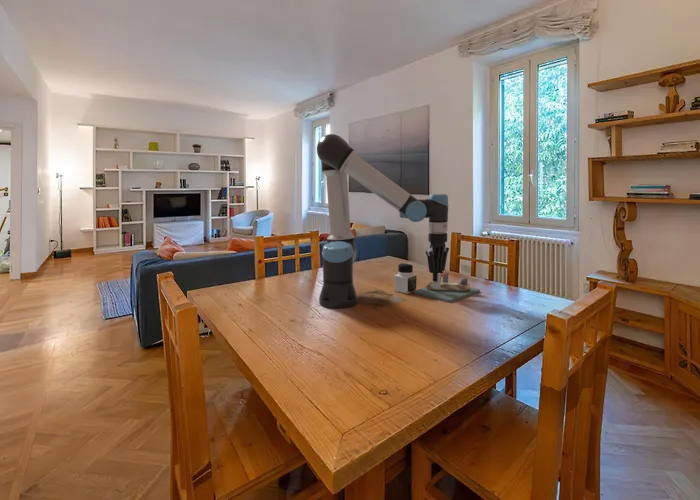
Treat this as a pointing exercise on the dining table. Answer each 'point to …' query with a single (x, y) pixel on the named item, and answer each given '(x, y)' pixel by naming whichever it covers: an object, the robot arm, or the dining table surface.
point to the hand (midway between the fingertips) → (436, 288)
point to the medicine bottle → (405, 279)
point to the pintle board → (447, 291)
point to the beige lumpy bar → (449, 286)
